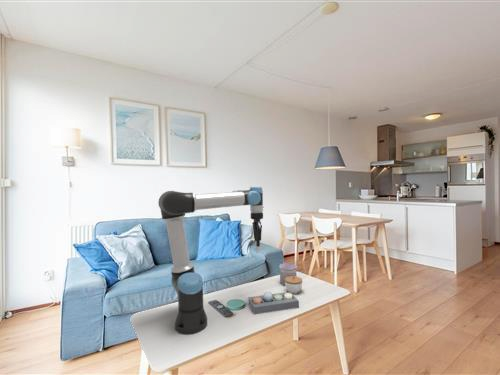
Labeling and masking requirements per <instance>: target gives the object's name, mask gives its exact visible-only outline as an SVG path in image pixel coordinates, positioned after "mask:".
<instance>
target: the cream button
mask: <svg viewBox="0 0 500 375" xmlns="http://www.w3.org/2000/svg"><path fill="white" fill-rule="evenodd" d="M284 298H285V299H292V294H291V293H285V294H284Z"/></svg>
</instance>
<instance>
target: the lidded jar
mask: <svg viewBox="0 0 500 375" xmlns="http://www.w3.org/2000/svg"><path fill="white" fill-rule="evenodd" d="M302 278H303V277H300V276H297V275H296V276H289V277H286V278H285V286H284V287H285V288H286V291H287V292H291V293H292V294H293V295H296V294H298V293H299V292H300V291H301V290H302V288H303V279H302Z"/></svg>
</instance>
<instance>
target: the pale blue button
mask: <svg viewBox="0 0 500 375" xmlns="http://www.w3.org/2000/svg"><path fill="white" fill-rule="evenodd" d="M272 294H273V293H272V292H269V291H265V292H264V293H263V295H264V301H265V302H271V301H272Z"/></svg>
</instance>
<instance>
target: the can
mask: <svg viewBox="0 0 500 375" xmlns="http://www.w3.org/2000/svg"><path fill="white" fill-rule="evenodd" d="M297 268H298V266H297V264H295V263H292V262H284V263H281V264H279V281H280V282H279V285H281V286H282V287H286V286H285V278H286V277H289V276H297Z"/></svg>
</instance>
